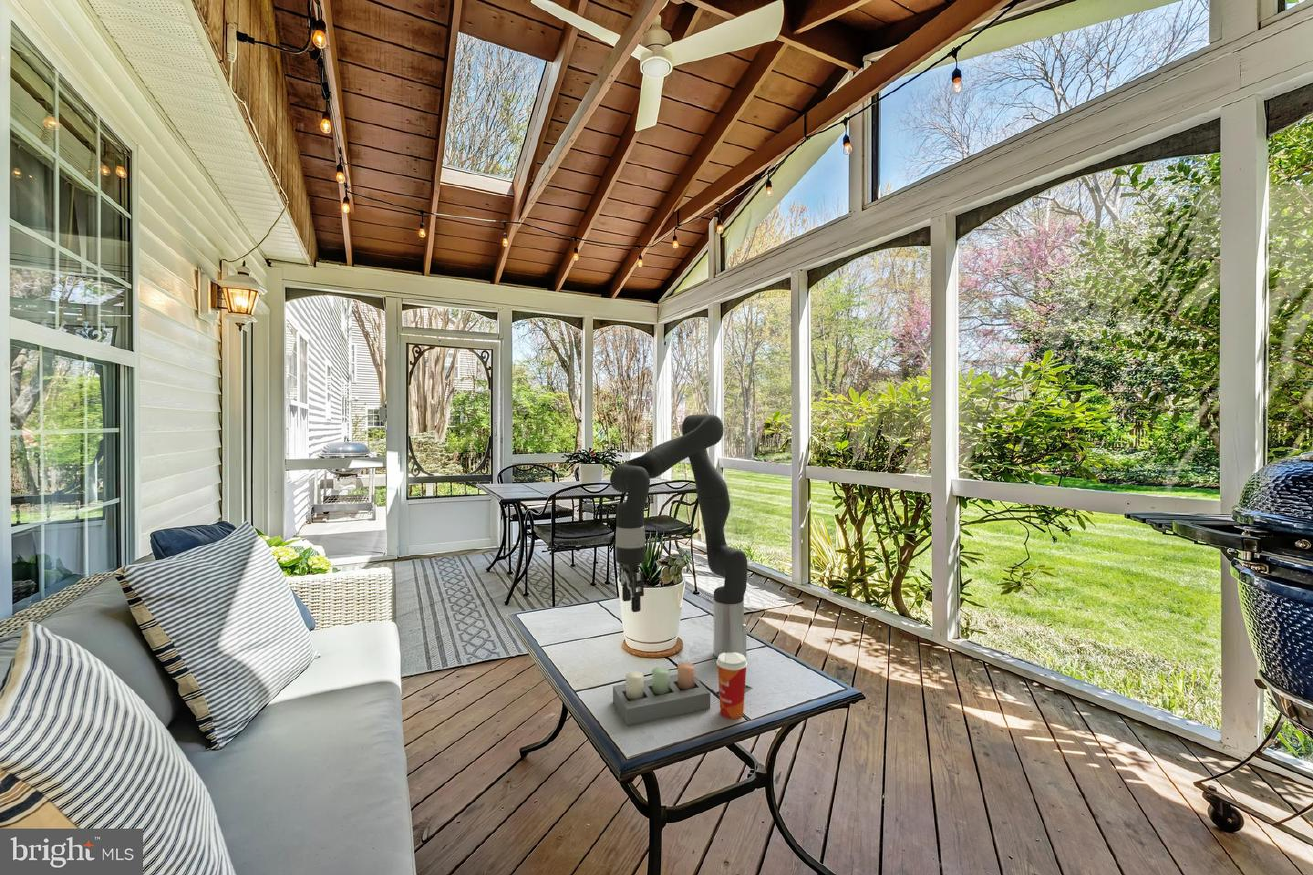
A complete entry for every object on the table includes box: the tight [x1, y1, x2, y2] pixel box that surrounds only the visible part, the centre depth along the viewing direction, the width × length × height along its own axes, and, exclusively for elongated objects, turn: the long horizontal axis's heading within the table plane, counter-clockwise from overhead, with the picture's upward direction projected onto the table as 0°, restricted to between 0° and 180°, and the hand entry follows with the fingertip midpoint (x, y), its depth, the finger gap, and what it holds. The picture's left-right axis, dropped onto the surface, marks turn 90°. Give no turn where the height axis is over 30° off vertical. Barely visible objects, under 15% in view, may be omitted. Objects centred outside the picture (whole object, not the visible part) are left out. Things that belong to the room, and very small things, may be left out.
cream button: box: [625, 671, 644, 700], centre depth 139 cm, size 4×4×5 cm
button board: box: [612, 673, 711, 727], centre depth 142 cm, size 22×12×4 cm, turn 111°
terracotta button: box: [677, 662, 696, 690], centre depth 144 cm, size 4×4×5 cm
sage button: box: [651, 666, 671, 695], centre depth 142 cm, size 4×4×5 cm
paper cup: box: [716, 652, 748, 720], centre depth 138 cm, size 8×8×14 cm
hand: (631, 605), depth 143 cm, fingers open, 8 cm apart
